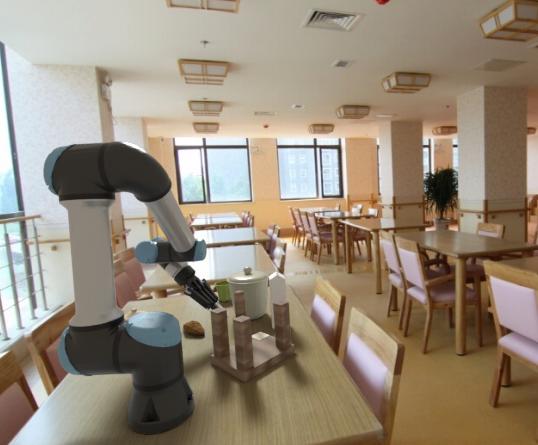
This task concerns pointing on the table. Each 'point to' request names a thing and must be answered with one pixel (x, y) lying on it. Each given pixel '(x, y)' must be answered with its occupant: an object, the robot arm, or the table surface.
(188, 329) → the croissant
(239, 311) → the hinged leg
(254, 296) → the canister
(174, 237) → the robot arm
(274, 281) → the milk
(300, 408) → the table surface
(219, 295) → the plant pot
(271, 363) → the stool seat
